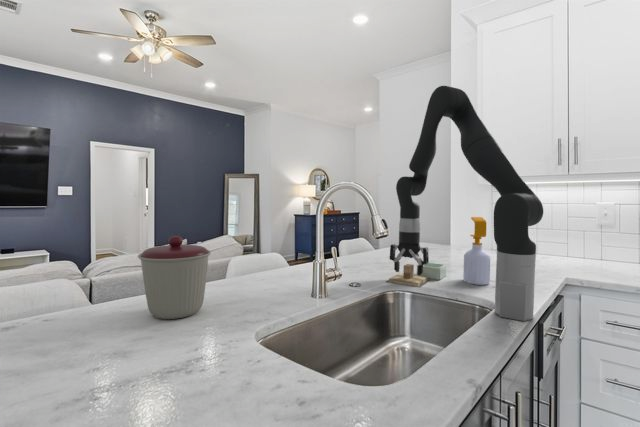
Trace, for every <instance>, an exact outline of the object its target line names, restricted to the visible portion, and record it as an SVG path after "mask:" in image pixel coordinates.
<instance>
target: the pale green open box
mask: <svg viewBox="0 0 640 427" xmlns="http://www.w3.org/2000/svg"><path fill="white" fill-rule="evenodd" d="M418 265H419V264H417V265H416V276H424V277H428V280H434V281H442V280H443V279H444V278H445V277H447V264H444V263H437V262H428V263H427V264H424V265H423V273H422V274H421V275H418Z"/></svg>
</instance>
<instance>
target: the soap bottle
mask: <svg viewBox="0 0 640 427" xmlns="http://www.w3.org/2000/svg"><path fill="white" fill-rule="evenodd" d="M470 219H471V220H472V221H473V222H474V233H473V234H469V235H470V237H472V238H473V239H474V242H472V244H471V245H472V248H471V249H469V250H467V251H466V252H465V253H464V255H463V277H462V278H463V279H462V280H463V282H465V283H468V284H471V285H474V286H475V285H476V286H485V285H489V284H490V280H491V279H490V278H491V276H490V275H491V257H490V254H489V253H487V251H485V250H483V243H482V242H481V240H482V238H485V237H486V236H487V221H486V220H485V219H484V217H482V216H471V218H470Z"/></svg>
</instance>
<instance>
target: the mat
mask: <svg viewBox="0 0 640 427" xmlns="http://www.w3.org/2000/svg"><path fill="white" fill-rule="evenodd" d="M430 281H431V279H428V280H427V281H425V282H424V283H422V284H421V285H419V286H413V285H406V284H400V283H393V282H389V279H388V280H387V281H385V282H386V283H387V284H388V283H389V284H396V285H401V286H408V287H415V288H422V287H424V286H425V285H426V284H427V283H429V282H430Z"/></svg>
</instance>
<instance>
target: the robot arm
mask: <svg viewBox="0 0 640 427" xmlns="http://www.w3.org/2000/svg"><path fill="white" fill-rule="evenodd" d="M443 117H446V118H449V119H451V121H452V122H453V123H454V124H455V126H456V127H457V129H458V131H459V133H460V147H461V151H462V153H463V156H464V157H465V159H466V161H467V162H468V164H469V165H470V166H471V168H472V169H473V170H474V171H475V172H476V173H477V174H478V175H479V176H481V177H482V179H484V180H485V181H487V182H488V183H489V184H491V186H492V187H494V189H495V190H496V191H497V193H498V194H499V195H500V197H499V198H498V199H497V200H496V201H495V204H494V209H493V238H494V242H495V244H496V262H495V263H496V264H495V265H496V266H495V286H494V287H495V289H494V291H495V293H494V313H495V314H497V315H498V318H499V317H500V318H505V319H510V320H516V321H521V322H526V321H530V320H532V319H533V318H534V308H535V307H534V306H535V305H534V304H535V286H536V284H535V280H536V260H537V258H536V256H537V244H536V243H535V242H534V241H533V240H532V239H530V237H529V236H530V235H529V227H532V226H535V225H537V224H539V223H540V222H541V221H542V219H543V215H544V205H543V204H542V202H541V199H540V198H539V197H538V196H537V195H536V194H535V193H534V191H533V190H532V189H531V188H530V187H529V186H528V184H526V182H525V181H524V180H523V179H522V177H521V176H520V175H519V173H518V172H517V170H516V169H515V168H514V166H513V165H512V163H511V161H510V160H509V159H508V157H507V155H506V154H505V153H504V152H503V150H502V148H501V146H500V145H499V144H498V142H497V141H496V139H495V138H494V136H493V135H492V134H491V132H490V131H489V130H488V128H487V126H486V125H485V124H484V122H483V121H482V119H481V118H480V116H479V115H478V113H477V112H476V109H475V108H474V106H473V104H472V102H471V99H470V98H469V96H468V94H467V93H466V92H465V91H464V90H463V89H461V88H457V87H453V86H448V85H439V86H438V87H436V88H435V89H434V90H433V92H432V93H431V96H430V98H429V101H428V103H427V106H426V110H425V114H424V119H423V124H422V127H421V132H420V135H419V139H418V142H417V144H416V147H415V150H414V152H413V153H412V154H413V155H412V157H411V158H410V159H411V160H410V161H409V164H408V167H409V169H410V171H411V172H413V176H401V177H400V178H399V179H398V180H397V183H396V185H395V186H396V187H395V189H396V190H395V191H396V195H397V198H398V199H397V200H398V203H399V208H400V210H399V212H400V213H399V224H398V225H399V226H398V244H396V243H394V244H391V245H390V247H389V248H390V249H389V260H390V261H393V262H394V267H393V270H394V271H395V272H396V273H399V272H400V266H401V265H400V263H401V259H402V258H410V259H414V261H416V262H417V265H418V275H421V274H422V273H423V265H424V264H427V263H430V262H429V256H430V255H429V247H428V246H425V247H421V245H420V241H421V240H420V239H421V237H420V236H421V222H420V210H421V208H420V204H419V202H415V201H413V197H415V196H420V195H422V194H423V193H424V191H425V189H426V187H427V182H428V175H429V170H430V168H431V166H432V164H433V161H434V159H435V156H436V154H437V134H438V128H439V125H440V123H441V121H442V119H443ZM412 196H413V197H412ZM397 250H398V251H399V253H398V254H397V256H396V251H397ZM420 252H421V253H422V257H421V255H420V254H419V253H420Z"/></svg>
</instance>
